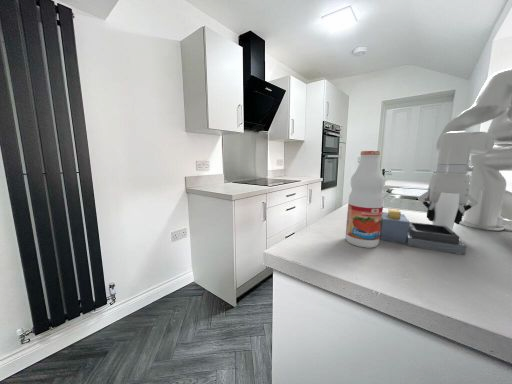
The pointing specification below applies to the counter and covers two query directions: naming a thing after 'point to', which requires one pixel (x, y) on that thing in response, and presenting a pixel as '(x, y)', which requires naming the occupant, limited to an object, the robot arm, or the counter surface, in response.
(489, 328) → the counter surface
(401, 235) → the grey tray
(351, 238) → the fruit juice
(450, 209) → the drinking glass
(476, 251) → the counter surface
